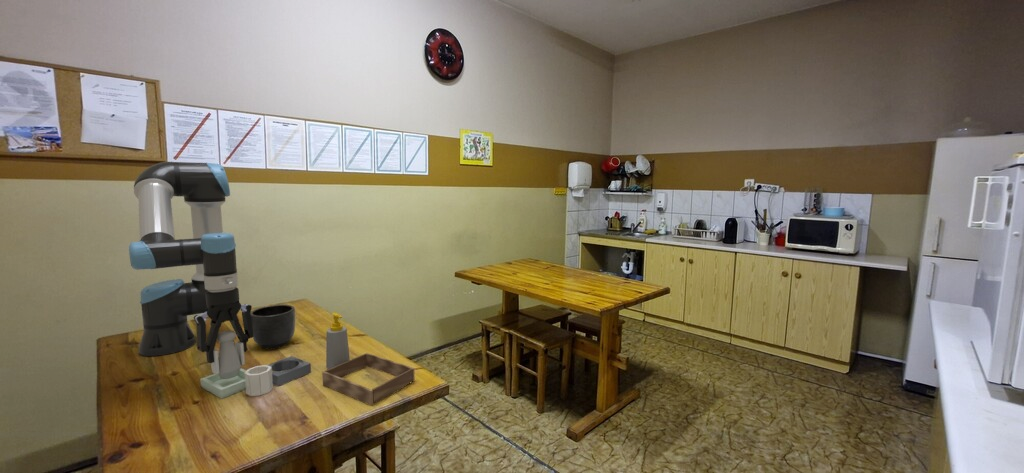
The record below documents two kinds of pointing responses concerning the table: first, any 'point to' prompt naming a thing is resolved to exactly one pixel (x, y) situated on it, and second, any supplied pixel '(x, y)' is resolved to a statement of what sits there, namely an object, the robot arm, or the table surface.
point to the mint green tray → (224, 384)
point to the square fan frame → (296, 370)
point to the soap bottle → (336, 344)
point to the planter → (273, 325)
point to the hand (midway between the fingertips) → (228, 367)
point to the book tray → (368, 396)
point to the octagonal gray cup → (258, 380)
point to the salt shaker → (228, 355)
